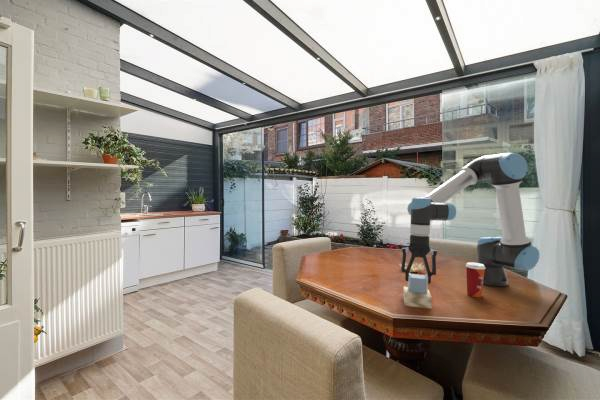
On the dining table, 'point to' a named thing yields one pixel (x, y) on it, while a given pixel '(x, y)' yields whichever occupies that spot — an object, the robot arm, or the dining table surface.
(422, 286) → the slate cube
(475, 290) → the paper cup
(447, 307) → the dining table surface
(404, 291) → the maple block
